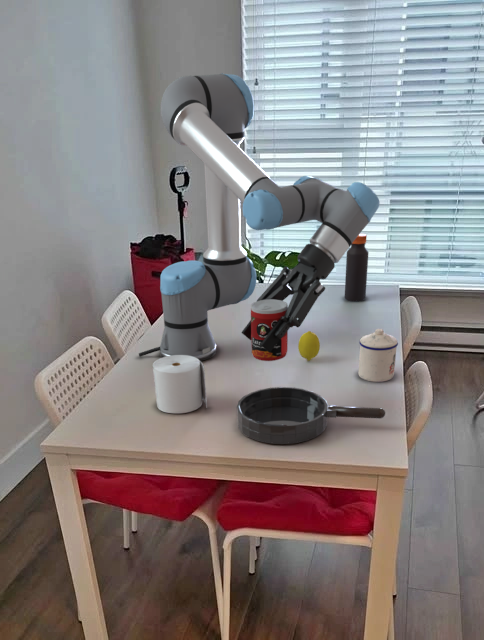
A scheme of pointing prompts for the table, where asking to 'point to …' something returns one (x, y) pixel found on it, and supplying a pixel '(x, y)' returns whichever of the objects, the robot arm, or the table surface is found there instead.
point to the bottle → (356, 270)
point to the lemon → (309, 345)
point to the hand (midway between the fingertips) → (255, 342)
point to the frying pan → (282, 415)
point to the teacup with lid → (377, 356)
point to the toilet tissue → (179, 383)
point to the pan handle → (354, 412)
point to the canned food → (267, 328)
